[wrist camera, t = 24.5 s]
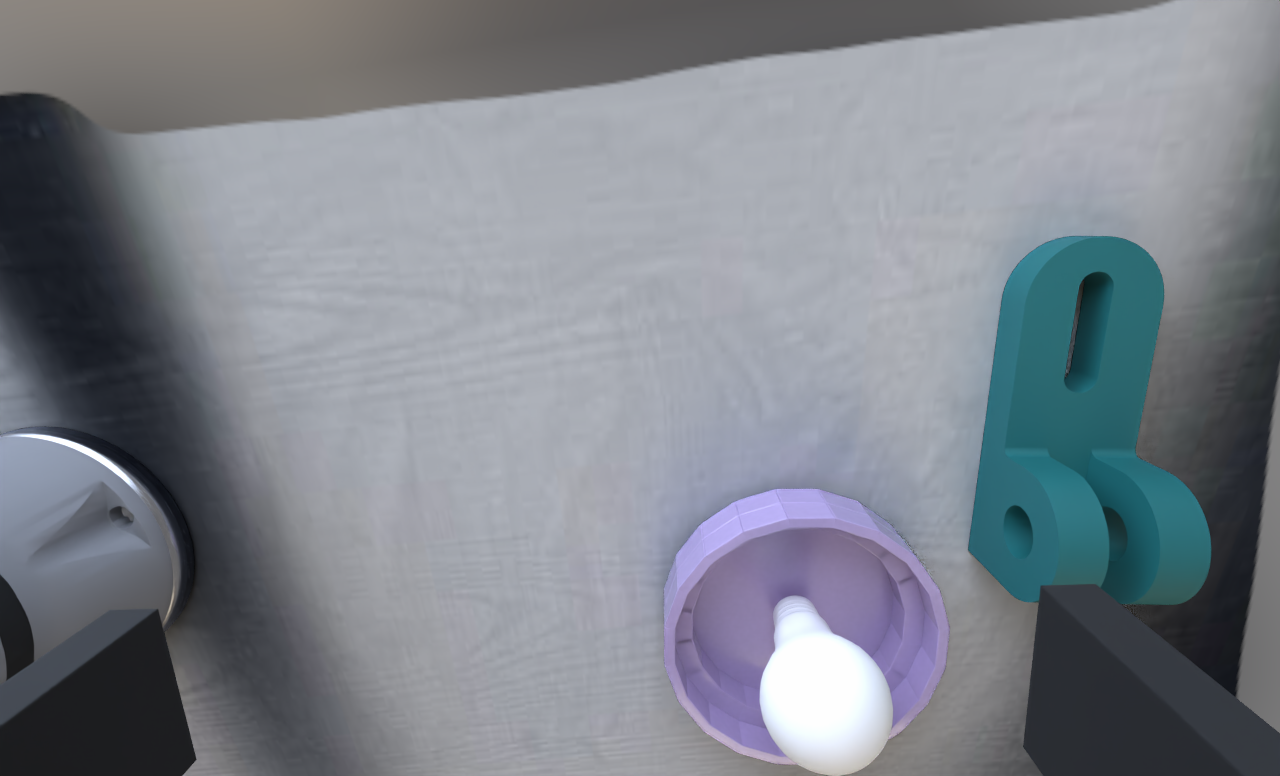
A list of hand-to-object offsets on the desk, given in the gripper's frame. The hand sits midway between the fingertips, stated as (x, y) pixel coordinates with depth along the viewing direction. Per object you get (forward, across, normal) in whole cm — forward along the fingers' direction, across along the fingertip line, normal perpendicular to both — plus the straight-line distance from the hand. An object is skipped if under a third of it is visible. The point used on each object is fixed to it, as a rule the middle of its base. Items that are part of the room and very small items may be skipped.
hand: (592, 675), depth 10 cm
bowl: (+27, +8, -16) cm, 32 cm away
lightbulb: (+26, +8, -16) cm, 32 cm away
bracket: (+27, +22, -4) cm, 35 cm away
